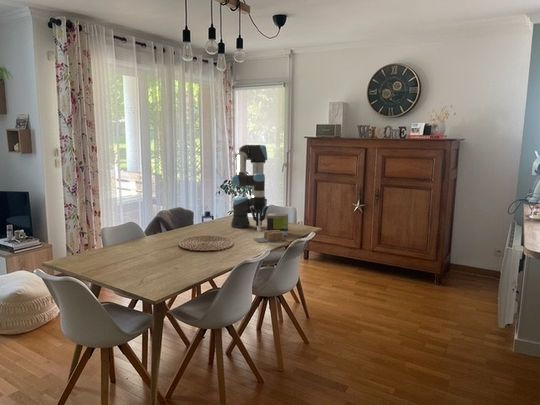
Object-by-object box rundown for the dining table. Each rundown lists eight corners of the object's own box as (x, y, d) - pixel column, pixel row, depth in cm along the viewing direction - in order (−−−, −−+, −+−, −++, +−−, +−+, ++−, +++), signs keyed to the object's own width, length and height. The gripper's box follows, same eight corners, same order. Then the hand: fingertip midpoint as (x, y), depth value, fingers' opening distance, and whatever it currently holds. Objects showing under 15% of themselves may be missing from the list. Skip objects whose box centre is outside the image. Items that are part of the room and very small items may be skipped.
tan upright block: (263, 230, 278) (278, 229, 282) (263, 237, 279) (278, 236, 283) (268, 233, 270) (283, 232, 274) (268, 240, 271) (283, 239, 275)
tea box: (288, 232, 297) (288, 213, 295) (287, 236, 287) (287, 216, 285) (268, 232, 299) (268, 212, 296) (266, 235, 289) (266, 215, 286)
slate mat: (253, 239, 277) (253, 238, 277) (279, 237, 284) (279, 236, 284) (258, 242, 267) (258, 242, 267) (285, 240, 275) (285, 239, 275)
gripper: (251, 197, 262) (251, 232, 266) (270, 196, 267) (269, 230, 271) (248, 196, 269) (248, 230, 272) (265, 195, 274) (265, 228, 277)
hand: (258, 230), depth 272 cm, fingers closed
